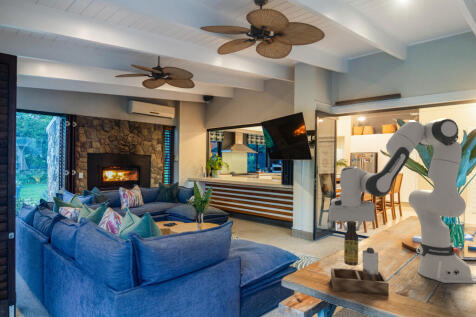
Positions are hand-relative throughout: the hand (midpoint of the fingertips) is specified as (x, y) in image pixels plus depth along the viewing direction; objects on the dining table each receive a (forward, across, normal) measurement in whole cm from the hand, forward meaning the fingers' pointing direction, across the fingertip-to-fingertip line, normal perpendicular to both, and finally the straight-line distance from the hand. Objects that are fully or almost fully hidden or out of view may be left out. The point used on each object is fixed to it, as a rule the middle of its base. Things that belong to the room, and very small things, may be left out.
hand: (351, 230), depth 138 cm
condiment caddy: (+21, 0, +13) cm, 24 cm away
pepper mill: (+21, -5, +13) cm, 25 cm away
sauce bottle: (+16, 0, 0) cm, 16 cm away
